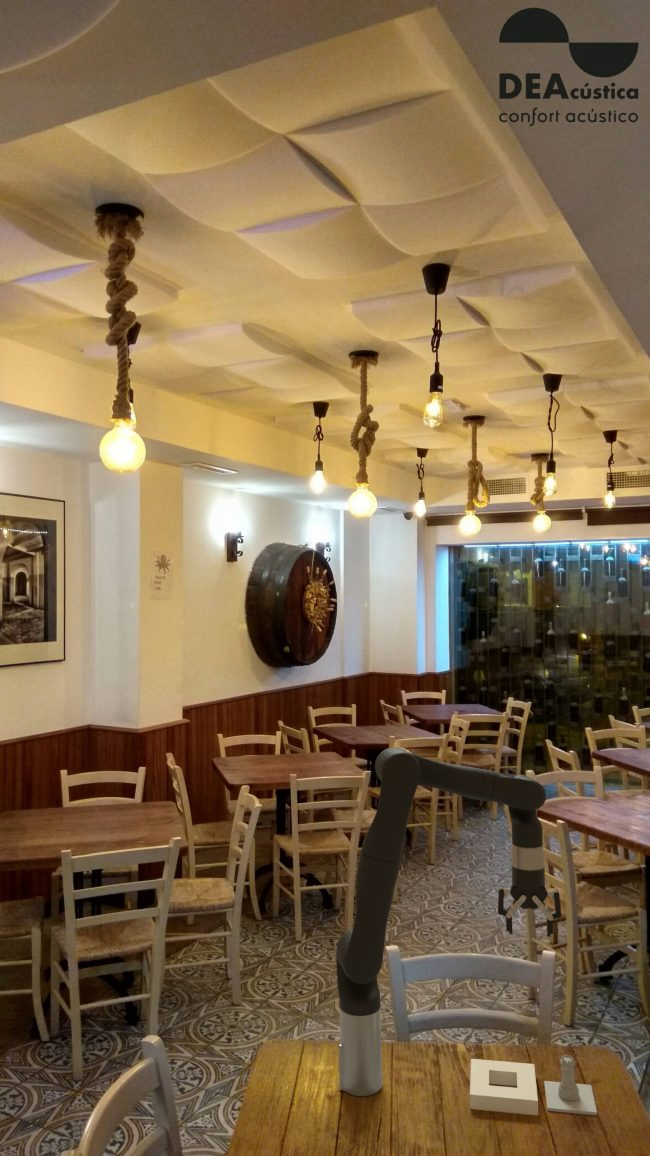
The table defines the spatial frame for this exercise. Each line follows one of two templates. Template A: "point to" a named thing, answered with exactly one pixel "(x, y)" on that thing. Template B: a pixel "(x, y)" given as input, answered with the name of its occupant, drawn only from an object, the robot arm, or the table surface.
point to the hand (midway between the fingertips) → (529, 934)
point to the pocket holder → (503, 1097)
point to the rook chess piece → (568, 1080)
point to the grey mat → (579, 1106)
